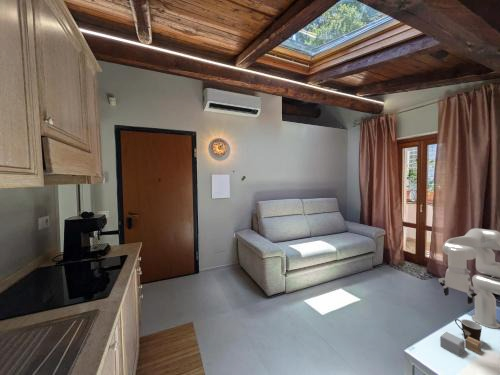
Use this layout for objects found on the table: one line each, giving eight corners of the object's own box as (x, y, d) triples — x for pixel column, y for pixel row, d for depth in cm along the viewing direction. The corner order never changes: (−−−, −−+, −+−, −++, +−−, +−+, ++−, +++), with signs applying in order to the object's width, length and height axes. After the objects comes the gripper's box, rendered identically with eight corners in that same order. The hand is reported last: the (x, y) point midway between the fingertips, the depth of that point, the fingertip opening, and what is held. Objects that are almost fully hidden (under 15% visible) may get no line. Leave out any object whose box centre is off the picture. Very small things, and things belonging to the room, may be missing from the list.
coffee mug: (486, 346, 119) (486, 329, 119) (469, 345, 120) (468, 328, 120) (469, 332, 130) (469, 316, 130) (453, 330, 132) (453, 315, 132)
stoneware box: (446, 341, 124) (446, 331, 124) (464, 350, 117) (464, 339, 117) (440, 346, 121) (440, 336, 120) (459, 356, 113) (458, 345, 113)
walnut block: (468, 344, 121) (468, 336, 121) (481, 350, 117) (480, 341, 116) (465, 348, 119) (465, 339, 119) (477, 354, 114) (477, 345, 114)
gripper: (481, 273, 110) (482, 304, 111) (440, 263, 126) (441, 290, 126) (476, 276, 107) (477, 308, 107) (434, 265, 122) (435, 293, 123)
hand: (457, 298), depth 117 cm, fingers open, 9 cm apart
